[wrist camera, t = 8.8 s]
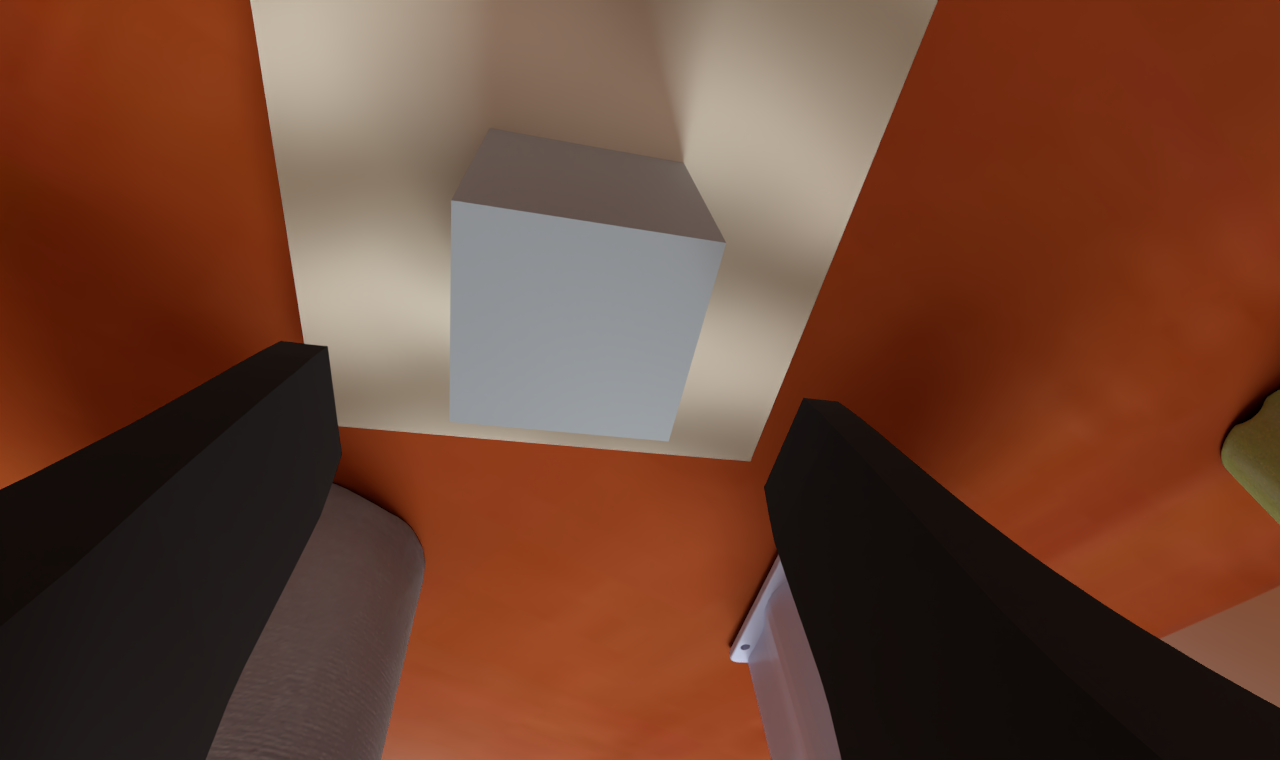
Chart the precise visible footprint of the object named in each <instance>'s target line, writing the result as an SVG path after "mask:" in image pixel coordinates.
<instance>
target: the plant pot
mask: <svg viewBox="0 0 1280 760" xmlns="http://www.w3.org/2000/svg"><path fill="white" fill-rule="evenodd" d="M1221 459H1222V463H1223V465H1224V467H1225V468H1226V469H1227V470H1228V471H1229V472H1230V473H1231V475H1232V476H1233V477H1234V478H1235V479H1236V480H1237V481H1238V482H1239V483H1240V484H1241V485H1242V486H1243V487H1244V488H1245V489H1246V490H1247V491H1248V492H1249V493H1250V494H1251V495H1252V496H1253V498H1254V499H1255V500H1256V501H1257V502H1258V503H1259V504H1260V505H1261V506H1262V507H1263V508H1264V509H1265V510H1266V511H1267V512H1268V513H1269V514H1270V515H1271V516H1272V517H1273V518H1274V519H1275V520H1276V521H1277V522H1278V523H1279V525H1280V389H1279V390H1278V391H1276V392H1274V393H1273V394H1271V395H1270V396H1268V397H1267V398H1266V399H1265V401H1264V404H1263V406H1262V408H1261V410H1260V411H1259V412H1258V413H1257V414H1256V415H1255V416H1254V417H1253V418H1252V419H1250V420H1248V421H1246V422H1244V423H1241V424H1238V425H1236V426H1234V427H1233V429H1232V430H1231V431H1230V433H1229V434H1228V436H1227V438H1226V440H1225V442H1224V444H1223V447H1222V451H1221Z"/></svg>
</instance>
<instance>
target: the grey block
mask: <svg viewBox="0 0 1280 760" xmlns="http://www.w3.org/2000/svg"><path fill="white" fill-rule="evenodd" d="M725 246H726V241H725V240H724V238H723V236H722V234H721V232H720V230H719V228H718V226H717V224H716V223H715V221H714V219H713V217H712V215H711V213H710V211H709V209H708V208H707V206H706V204H705V202H704V200H703V198H702V196H701V194H700V192H699V191H698V189H697V187H696V185H695V183H694V181H693V179H692V177H691V176H690V174H689V172H688V170H687V168H686V166H685V164H684V163H682V162H676V161H671V160H665V159H660V158H654V157H648V156H643V155H637V154H632V153H626V152H620V151H615V150H609V149H604V148H598V147H593V146H587V145H581V144H576V143H570V142H565V141H559V140H554V139H548V138H542V137H537V136H531V135H526V134H520V133H514V132H509V131H503V130H498V129H492V128H490V129H489V131H488V133H487V134H486V136H485V138H484V140H483V142H482V144H481V146H480V147H479V149H478V151H477V153H476V155H475V157H474V159H473V161H472V162H471V164H470V166H469V168H468V170H467V172H466V174H465V175H464V177H463V179H462V181H461V183H460V185H459V187H458V188H457V190H456V192H455V194H454V196H453V198H452V200H451V289H450V409H449V422H456V423H467V424H478V425H489V426H501V427H512V428H523V429H534V430H546V431H557V432H568V433H579V434H590V435H602V436H613V437H624V438H635V439H647V440H658V441H669V438H670V435H671V432H672V428H673V425H674V421H675V418H676V414H677V411H678V407H679V404H680V401H681V397H682V394H683V390H684V387H685V383H686V380H687V376H688V373H689V370H690V366H691V363H692V359H693V356H694V352H695V349H696V345H697V342H698V339H699V335H700V332H701V328H702V325H703V321H704V318H705V315H706V311H707V308H708V304H709V301H710V297H711V294H712V290H713V287H714V284H715V280H716V277H717V273H718V270H719V266H720V263H721V259H722V256H723V253H724V249H725Z"/></svg>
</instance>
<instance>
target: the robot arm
mask: <svg viewBox="0 0 1280 760" xmlns="http://www.w3.org/2000/svg"><path fill="white" fill-rule="evenodd" d="M341 455H342V452H341V444H340V436H339V429H338V421H337V413H336V406H335V398H334V390H333V383H332V375H331V367H330V360H329V352H328V346H320V345H311V344H302V343H293V342H284V341H280V342H278V343H276V344H274V345H272V346H270V347H268V348H266V349H264V350H262V351H260V352H259V353H257V354H255V355H253V356H251V357H249V358H248V359H246V360H244V361H242V362H241V363H239V364H237V365H235V366H233V367H232V368H230V369H228V370H226V371H225V372H223V373H221V374H219V375H218V376H216V377H214V378H212V379H211V380H209V381H207V382H205V383H204V384H202V385H200V386H198V387H197V388H195V389H193V390H191V391H189V392H188V393H186V394H184V395H182V396H181V397H179V398H177V399H175V400H173V401H172V402H170V403H168V404H166V405H164V406H163V407H161V408H159V409H157V410H155V411H154V412H152V413H150V414H148V415H146V416H145V417H143V418H141V419H139V420H137V421H136V422H134V423H132V424H130V425H128V426H126V427H124V428H122V429H120V430H118V431H116V432H114V433H112V434H110V435H109V436H107V437H105V438H103V439H101V440H99V441H97V442H95V443H93V444H91V445H89V446H87V447H85V448H83V449H81V450H79V451H77V452H75V453H73V454H71V455H69V456H67V457H65V458H64V459H62V460H60V461H58V462H56V463H54V464H52V465H50V466H48V467H46V468H44V469H42V470H40V471H38V472H36V473H34V474H32V475H30V476H28V477H26V478H24V479H22V480H20V481H18V482H16V483H13V484H11V485H9V486H7V487H5V488H3V489H1V490H0V760H206V758H207V755H208V753H209V750H210V747H211V745H212V742H213V740H214V737H215V735H216V732H217V730H218V727H219V725H220V722H221V719H222V717H223V714H224V712H225V709H226V707H227V704H228V702H229V699H230V697H231V695H232V693H233V691H234V689H235V686H236V684H237V682H238V680H239V678H240V675H241V673H242V671H243V669H244V667H245V665H246V663H247V661H248V659H249V657H250V655H251V653H252V651H253V649H254V647H255V645H256V643H257V641H258V639H259V637H260V635H261V633H262V631H263V629H264V627H265V625H266V623H267V621H268V619H269V617H270V615H271V613H272V612H273V610H274V608H275V606H276V604H277V602H278V600H279V598H280V596H281V594H282V592H283V590H284V588H285V586H286V584H287V582H288V580H289V578H290V576H291V574H292V572H293V570H294V568H295V566H296V564H297V562H298V560H299V558H300V556H301V554H302V552H303V550H304V548H305V546H306V544H307V542H308V540H309V538H310V536H311V534H312V532H313V530H314V528H315V526H316V524H317V522H318V520H319V518H320V516H321V513H322V511H323V508H324V505H325V502H326V499H327V497H328V494H329V491H330V488H331V485H332V482H333V479H334V476H335V473H336V470H337V467H338V464H339V461H340V458H341ZM764 489H765V494H766V500H767V506H768V512H769V518H770V522H771V527H772V532H773V537H774V541H775V545H776V548H777V551H778V556H777V558H776V560H775V562H774V564H773V566H772V568H771V570H770V572H769V574H768V576H767V578H766V580H765V582H764V584H763V586H762V588H761V590H760V592H759V594H758V596H757V598H756V600H755V602H754V604H753V606H752V608H751V610H750V611H749V613H748V615H747V617H746V619H745V621H744V623H743V625H742V627H741V629H740V631H739V633H738V635H737V637H736V639H735V641H734V643H733V645H732V647H731V649H730V651H729V655H730V659H731V660H732V661H734V662H748V665H749V669H750V673H751V677H752V681H753V686H754V690H755V694H756V698H757V702H758V706H759V710H760V714H761V719H762V723H763V727H764V731H765V735H766V739H767V743H768V747H769V752H770V756H771V760H1280V708H1279V707H1277V706H1275V705H1273V704H1272V703H1270V702H1268V701H1266V700H1264V699H1262V698H1260V697H1259V696H1257V695H1255V694H1253V693H1251V692H1250V691H1248V690H1246V689H1244V688H1242V687H1241V686H1239V685H1237V684H1235V683H1233V682H1232V681H1230V680H1228V679H1226V678H1225V677H1223V676H1221V675H1219V674H1218V673H1216V672H1214V671H1212V670H1211V669H1209V668H1207V667H1205V666H1204V665H1202V664H1200V663H1198V662H1197V661H1195V660H1193V659H1192V658H1190V657H1188V656H1187V655H1185V654H1184V653H1182V652H1180V651H1178V650H1177V649H1175V648H1174V647H1172V646H1170V645H1169V644H1167V643H1165V642H1164V641H1162V640H1160V639H1158V638H1157V637H1155V636H1153V635H1152V634H1150V633H1148V632H1147V631H1145V630H1143V629H1142V628H1140V627H1139V626H1137V625H1135V624H1134V623H1132V622H1131V621H1129V620H1127V619H1126V618H1124V617H1123V616H1121V615H1120V614H1118V613H1116V612H1115V611H1113V610H1112V609H1110V608H1108V607H1107V606H1105V605H1104V604H1102V603H1101V602H1099V601H1098V600H1096V599H1095V598H1093V597H1092V596H1090V595H1089V594H1087V593H1086V592H1085V591H1083V590H1082V589H1080V588H1079V587H1077V586H1076V585H1074V584H1073V583H1071V582H1070V581H1068V580H1067V579H1065V578H1064V577H1062V576H1061V575H1059V574H1058V573H1056V572H1055V571H1053V570H1052V569H1050V568H1049V567H1048V566H1046V565H1045V564H1043V563H1042V562H1041V561H1039V560H1038V559H1036V558H1035V557H1034V556H1032V555H1031V554H1029V553H1028V552H1027V551H1025V550H1024V549H1022V548H1021V547H1020V546H1018V545H1017V544H1016V543H1015V542H1013V541H1012V540H1011V539H1009V538H1008V537H1007V536H1005V535H1004V534H1003V533H1001V532H1000V531H999V530H997V529H996V528H995V527H993V526H992V525H991V524H990V523H988V522H987V521H986V520H984V519H983V518H982V517H980V516H979V515H978V514H976V513H975V512H974V511H973V510H971V509H970V508H969V507H968V506H966V505H965V504H964V503H963V502H961V501H960V500H959V499H958V498H956V497H955V496H954V495H953V494H951V493H950V492H949V491H948V490H947V489H945V488H944V487H943V486H942V485H940V484H939V483H938V482H937V481H936V480H934V479H933V478H932V477H931V476H930V475H928V474H927V473H926V472H925V471H924V470H922V469H921V468H920V467H919V466H918V465H916V464H915V463H914V462H913V461H912V460H910V459H909V458H908V457H907V456H906V455H904V454H903V453H902V452H901V451H900V450H898V449H897V448H896V447H895V446H894V445H893V444H891V443H890V442H889V441H888V440H887V439H885V438H884V437H883V436H882V435H881V434H879V433H878V432H877V431H876V430H874V429H873V428H872V427H871V426H870V425H868V424H867V423H866V422H865V421H863V420H862V419H861V418H859V417H858V416H857V415H856V414H854V413H853V412H852V411H850V410H849V409H848V408H846V407H845V406H843V405H842V404H840V403H839V402H835V401H826V400H816V399H807V398H803V400H802V403H801V405H800V407H799V409H798V412H797V414H796V416H795V418H794V421H793V423H792V425H791V428H790V430H789V432H788V434H787V437H786V439H785V441H784V443H783V446H782V448H781V450H780V453H779V455H778V457H777V459H776V462H775V464H774V466H773V468H772V471H771V473H770V475H769V478H768V480H767V482H766V484H765V487H764Z"/></svg>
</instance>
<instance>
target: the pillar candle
mask: <svg viewBox="0 0 1280 760" xmlns="http://www.w3.org/2000/svg"><path fill="white" fill-rule="evenodd" d="M424 569H425V560H424V552H423V549H422V546H421V544H420V542H419V540H418V538H417V536H416V534H415V532H414V531H413V530H412V528H411V527H410V526H409V525H408V524H407V523H405V522H404V521H403V520H401V519H400V518H399V517H397V516H395V515H393V514H391V513H389V512H387V511H386V510H384V509H382V508H381V507H379V506H377V505H375V504H374V503H372V502H370V501H368V500H366V499H364V498H363V497H361V496H359V495H357V494H355V493H353V492H351V491H349V490H348V489H346V488H343V487H341V486H339V485H337V484H333V483H332V485H331V488H330V491H329V494H328V497H327V499H326V502H325V505H324V508H323V511H322V513H321V516H320V518H319V520H318V522H317V524H316V526H315V528H314V530H313V532H312V534H311V536H310V538H309V540H308V542H307V544H306V546H305V548H304V550H303V552H302V554H301V556H300V558H299V560H298V562H297V564H296V566H295V568H294V570H293V572H292V574H291V576H290V578H289V580H288V582H287V584H286V586H285V588H284V590H283V592H282V594H281V596H280V598H279V600H278V602H277V604H276V606H275V608H274V610H273V612H272V613H271V615H270V617H269V619H268V621H267V623H266V625H265V627H264V629H263V631H262V633H261V635H260V637H259V639H258V641H257V643H256V645H255V647H254V649H253V651H252V653H251V655H250V657H249V659H248V661H247V663H246V665H245V667H244V669H243V671H242V673H241V675H240V678H239V680H238V682H237V684H236V686H235V689H234V691H233V693H232V695H231V697H230V699H229V702H228V704H227V707H226V709H225V712H224V714H223V717H222V719H221V722H220V725H219V727H218V730H217V732H216V735H215V737H214V740H213V742H212V745H211V747H210V750H209V753H208V755H207V758H206V760H381V757H382V752H383V748H384V744H385V740H386V735H387V731H388V726H389V722H390V718H391V714H392V710H393V705H394V701H395V696H396V692H397V688H398V685H399V680H400V676H401V672H402V668H403V664H404V659H405V655H406V650H407V646H408V642H409V637H410V633H411V629H412V624H413V620H414V615H415V611H416V607H417V603H418V599H419V595H420V591H421V587H422V583H423V577H424Z"/></svg>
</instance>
